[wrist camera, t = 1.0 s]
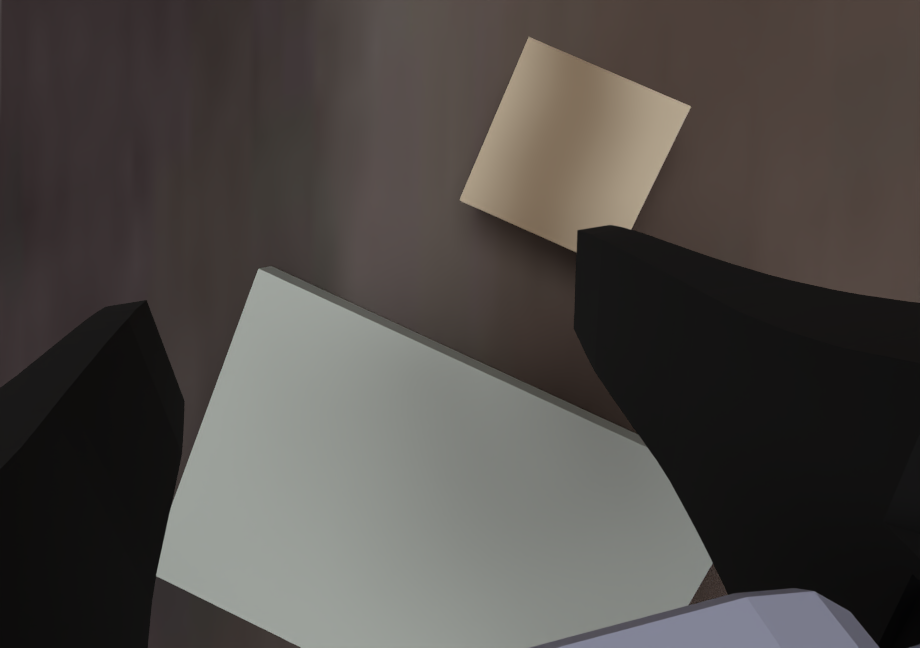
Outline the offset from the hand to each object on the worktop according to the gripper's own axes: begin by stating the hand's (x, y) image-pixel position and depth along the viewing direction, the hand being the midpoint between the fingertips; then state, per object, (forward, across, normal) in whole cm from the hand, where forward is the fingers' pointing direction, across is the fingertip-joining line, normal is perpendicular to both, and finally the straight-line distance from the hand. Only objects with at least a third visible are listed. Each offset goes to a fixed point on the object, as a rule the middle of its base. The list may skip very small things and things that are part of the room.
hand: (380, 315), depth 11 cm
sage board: (+9, -1, +16) cm, 18 cm away
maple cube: (+12, -8, +3) cm, 15 cm away
